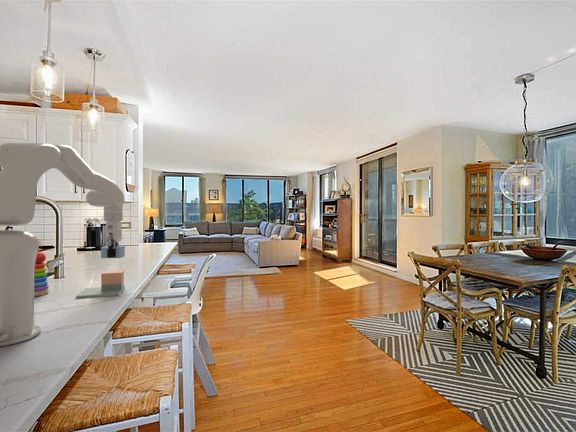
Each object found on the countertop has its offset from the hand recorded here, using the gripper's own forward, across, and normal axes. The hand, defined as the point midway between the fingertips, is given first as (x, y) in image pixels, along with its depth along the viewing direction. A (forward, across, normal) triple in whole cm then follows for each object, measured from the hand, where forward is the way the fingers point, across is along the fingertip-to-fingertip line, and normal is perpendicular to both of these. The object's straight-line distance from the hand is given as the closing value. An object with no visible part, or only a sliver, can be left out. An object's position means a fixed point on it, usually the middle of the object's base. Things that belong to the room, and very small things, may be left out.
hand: (113, 255), depth 132 cm
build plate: (+16, -2, +4) cm, 17 cm away
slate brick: (+1, 0, 0) cm, 1 cm away
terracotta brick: (+12, 0, 0) cm, 12 cm away
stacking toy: (+17, +4, +30) cm, 35 cm away
